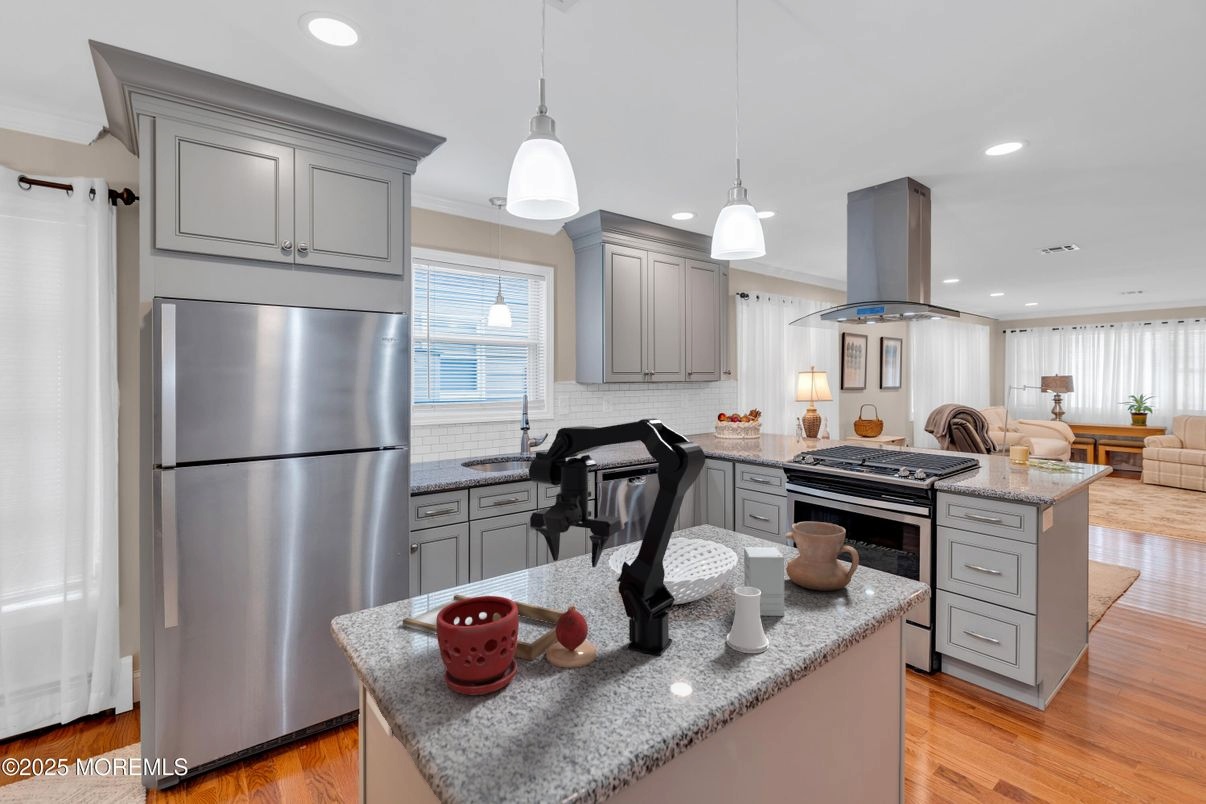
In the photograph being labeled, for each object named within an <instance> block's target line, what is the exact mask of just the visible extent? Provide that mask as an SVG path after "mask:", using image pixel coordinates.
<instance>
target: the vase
mask: <svg viewBox="0 0 1206 804" xmlns="http://www.w3.org/2000/svg"><path fill="white" fill-rule="evenodd" d="M733 592H734V598H735V599H734V601H735V608H734V609H735V611H734V618H733V622H732V623H733V624H732V627H731V629H730V632H729V633H728V634H727V635H726V640H727V641H726V643H727V646H729V648H731V649H733V650H734V651H737V652H741V653H744V654H745V653H746V654H760V653H763V652H765V651H767V650H769V648H770V647H769V645H770V644H769V639H768V637H767V636H766V634H765V631H764V628H763V625H762V620H761V615H760V596H761V591H760V590H758V589H756V588H752V587H744V586H739V587H735V588H734V589H733Z"/></svg>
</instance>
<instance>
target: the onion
mask: <svg viewBox="0 0 1206 804" xmlns="http://www.w3.org/2000/svg"><path fill="white" fill-rule="evenodd" d="M564 612H565V613H564V614H563V615H562V616H561V617H560V618H559V620H558V621H557V624H555V627H556V638H557V639H558V642H559V643H560V644H561V645H562V646H563V647H565V648H567V649H569V650H571V651H573V650H575V649H576V648H577V647H578V646H580V645H581V644H582V643H583V642H584V641H586V639H587V636H588V634H589V628H588V623H587V621H586V618H585V616H584V615H583V614H581V613H580V612H579V611H577V609H576V606H575V605H573V604H571V605H569V607H568V609H567V611H564Z"/></svg>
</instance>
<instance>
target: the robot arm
mask: <svg viewBox="0 0 1206 804" xmlns="http://www.w3.org/2000/svg"><path fill="white" fill-rule="evenodd" d="M639 441H640V442H641V443H642V444H644V446H645V448H646V450H647V452H648V454H649V456H651V457H652V459H654V460H655V461H656V463H658V465H657V470H656V471H657V472H656V473H657V479H658V486H659V487H658V491H657V494H656V497H655V501H654V503H653V507H652V510H651V512H650V516H649V518H648V522H647V525H646V528H645V532H644V535H643V539H642V541H641V544H640V547H639V551H638V553H637V556H634V557H633V558H632V557H631V558H630V559H628V560H625V561H624V562H623V564H622V566H621V572H620V576H618V578H617V580H616V581H617V582H619V583H618V594H620V597H621V600H622V604H623V607H624V610H625V611H624V612H625V614H626V617H627V618H629V620H628V625H629V626H628V628H629V629H628V633H629V634H628V636H629V637H628V639H629V643H628V644H627V648H628V649H629V650H633V651H637V652H642V653H646V654H650V655H654V656H661V655H662V654H663V652H665V651H666V649H668V647H669V646H670V645H671V644H672V642H673V639H672V638H670V637H669V635H670V633H669V629H670V628H669V626H670V625H669V615H670V614H669V612H668V610H671V609H672V608H673V606H674V602H675V600H676V599H675V597H674V595H673V594H672V593H671V592H670V590H669V589H668V587H667V586H666V585H665V584H664V582H665V573H666V572H665V569H664V563H663V562H664V558H665V556H666V553H667V549H668V545H669V542H670V539H671V536H672V534H673V531H674V529H675V528H674V527H675V525H676V521H677V520H678V519H677V518H678V516H679V514H680V513H679V512H680V510H681V507H682V504H683V500H684V498H685V495H686V493H687V492H688V490H689V489H690V487H691V486H692V485H693V484H694V483H695V481H696V480H697V479H698V477H699V475H700V473H701V471H702V470H703V468H704V465H705V464H706V454H705V452H704V450H703V448H702V447H701V445H699V444H698V443H697V442H694V441H691V440H689V439H688V438H687V437H685V436H684V435H682V434H680V433H679V432H677V431H675V430H673V429H672V428H670V427H668V426H667V425H666V424H665V423H663V422H662V421H661V420H660V419H658V418H642V419H640V420H638V421H632V422H626V423H619V424H614V425H608V426H602V427H597V426H588V425H587V426H585V425H584V426H582V425H579V426H569V427H561V428H560V429H559V428H558V430H557V432H556V434H555V439H554V440H553V442H552V443H551V445H550V446H549V448H548V450H547V451H537V452H535V458H533V460H532V461H531V463H530V465H529V468H528V475H529V476H528V477H529V479H530V481H532V482H533V483H535V484H541V485H550V486H554V487H555V486H559V491H560V492H559V493H557V494H556V496H555V497H556V499H555V503H554V505H552V506H550V507H549V508H542V509H540V510H537V511H534V512H532V513H531V515H530V517H529V527H531V528H534V530H535V532H539V534H541V535H542V536H543V537H544V539H545V541H546V544H547V546H548V548H549V552H550V554H551V557H552V560H553V561H554V562H557V561H559V554H560V543H561V533H562V534H563V533H566V532H568V531H569V529H570V528H571V527H576V528H583V529H590V532H591V533H592V534H591V535H589V539H590V542H591V567H592V568H596V567H597V565H598V563H599V560H600V558H601V556H602V553H603V550H604V548H605V546H606V544H607V542H608V541H609V538H610V537H612V536H614V535H616V534H617V533H619V532H620V531H622V526H621V525H622V524H621V520H620V519H619V517H618V516H610V515H600V516H598V517H595V518H594V519H593V518H590V517H592V511H591V510H589V498H590V497H592V491H589V468H595V467H597V466H598V463H597V462H596V461H595V460H594V459H593V458H592V457H591V456H590V455H589V454H587V453H590V452H593V451H596V450H597V449H600V448H602V447H605V446H609V445H617V444H626V443H632V442H639ZM584 454H585V455H584ZM579 455H581V456H580V457H578V456H579Z"/></svg>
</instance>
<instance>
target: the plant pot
mask: <svg viewBox="0 0 1206 804" xmlns="http://www.w3.org/2000/svg"><path fill="white" fill-rule="evenodd" d="M515 602H516V601H515ZM515 602H514V600H512V599H510V598H509V597H508V598H507V597H503V596H498V595H484V596H475V597H470V598H468V599H464V600H460V601H457V602H455V603H452V604H450V605H448V606H446V607H445V608H443V609H442V610H441V611H440V612H439V613H438V615H437V619H436V625H437V635H436V636H437V638H436V639H437V644H438V648H439V653H440V657H441V659H442V663H443V664H444V667H445V668H446V670H445V672H444V680H445V683H446V685H447V686H448V687H449V688H450V689H452V691H454V692H456V693H459V694H461V695H470V696H473V695H474V696H475V695H476V696H481V695H485V694H489V693H493V692H495V691H497V690H500V689H502V688H503V687H505V686H506V685H508V684H509V683H510V682H511V681H512V679H513V678H515V675H516V673H517V670H518V664H517V660H515V658H514V657H515V656H514V655H515V651H516V647H517V640H518V636H519V623H520V620H519V617H520V616H518V608H517V605H516V603H515ZM482 612H484V613H486V614H487V617H486V618H485V619H481V618H480V617H479V614H480V613H482ZM495 613H498V614H499V615H500V616H501V618H502V619H500V620H497V621H495V622H494V621H493V615H494V614H495ZM507 613H508V615H507ZM457 617H459V622H458V624H456V625H455V624H454V620H455V618H457ZM468 617H471V618H472V622H471V624H469V625H467V624H466V623H465V620H466V619H467V618H468ZM475 625H477V626H475Z"/></svg>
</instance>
